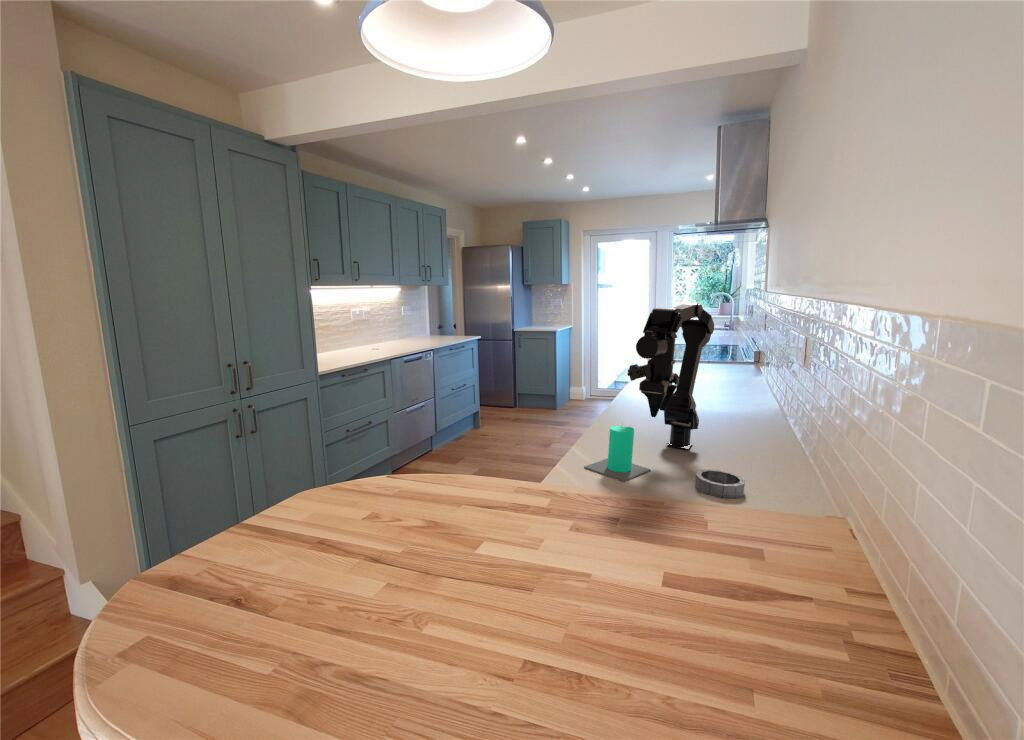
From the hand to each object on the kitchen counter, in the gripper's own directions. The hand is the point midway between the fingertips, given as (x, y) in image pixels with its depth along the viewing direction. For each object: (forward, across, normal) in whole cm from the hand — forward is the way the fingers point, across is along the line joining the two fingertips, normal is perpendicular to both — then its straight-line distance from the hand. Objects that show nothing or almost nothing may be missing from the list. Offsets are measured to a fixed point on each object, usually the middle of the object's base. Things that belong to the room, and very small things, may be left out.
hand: (657, 413), depth 129 cm
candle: (+13, +13, -6) cm, 19 cm away
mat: (+13, +13, -6) cm, 19 cm away
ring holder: (+13, +12, +18) cm, 25 cm away
